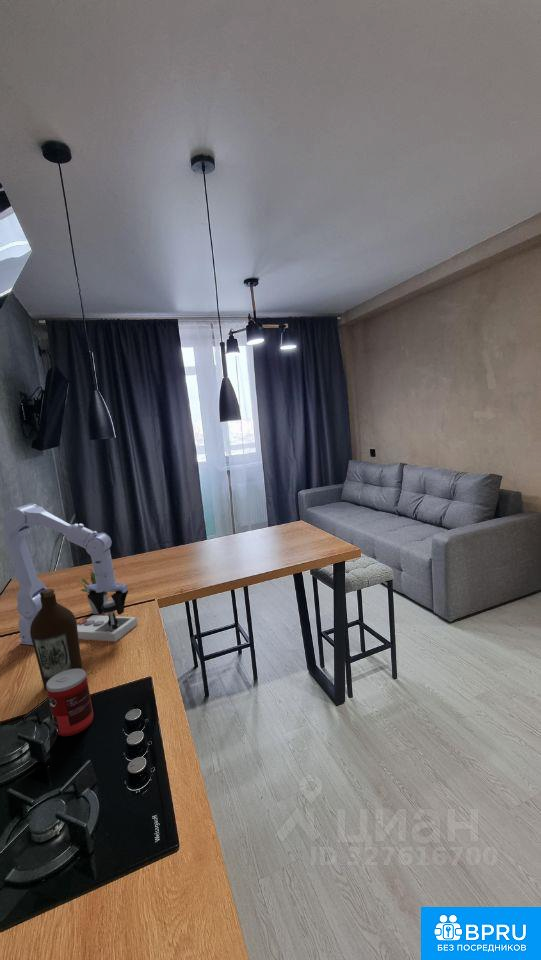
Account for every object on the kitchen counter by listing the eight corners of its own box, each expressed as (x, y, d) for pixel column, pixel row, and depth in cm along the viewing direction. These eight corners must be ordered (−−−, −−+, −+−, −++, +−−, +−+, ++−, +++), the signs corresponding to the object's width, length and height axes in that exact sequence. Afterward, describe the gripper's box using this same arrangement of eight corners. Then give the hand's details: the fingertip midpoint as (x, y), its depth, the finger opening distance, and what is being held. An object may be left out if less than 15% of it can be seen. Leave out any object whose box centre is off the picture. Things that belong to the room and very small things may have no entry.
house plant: (132, 605, 156) (124, 563, 154) (99, 622, 145) (91, 576, 143) (107, 600, 164) (100, 560, 162) (75, 616, 152) (67, 573, 150)
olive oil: (48, 675, 114) (31, 587, 111) (89, 666, 116) (73, 580, 113) (35, 699, 104) (16, 603, 101) (81, 688, 106) (63, 594, 103)
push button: (123, 633, 134) (118, 604, 132) (105, 638, 132) (100, 608, 131) (122, 625, 140) (117, 596, 139) (105, 629, 138) (100, 600, 137)
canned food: (63, 715, 96) (54, 671, 95) (99, 710, 97) (90, 665, 95) (48, 740, 88) (38, 692, 87) (87, 733, 89) (78, 685, 88)
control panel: (69, 638, 135) (68, 629, 135) (94, 622, 145) (92, 613, 145) (115, 641, 129) (114, 632, 129) (137, 624, 139) (136, 615, 139)
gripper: (76, 576, 132) (84, 617, 134) (114, 577, 127) (121, 619, 129) (92, 568, 139) (99, 607, 140) (129, 568, 134) (136, 609, 136)
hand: (111, 612), depth 135 cm, fingers open, 7 cm apart
